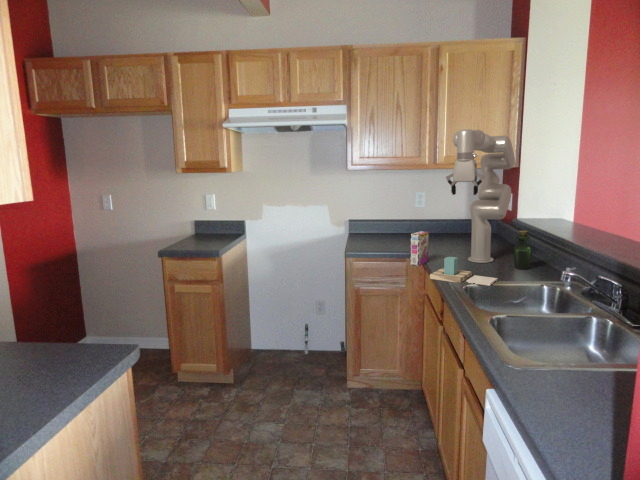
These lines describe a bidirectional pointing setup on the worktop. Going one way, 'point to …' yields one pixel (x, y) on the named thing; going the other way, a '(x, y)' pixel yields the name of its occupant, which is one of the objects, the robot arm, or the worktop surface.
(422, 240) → the candy bar box
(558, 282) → the worktop surface
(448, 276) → the pocket base
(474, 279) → the tile
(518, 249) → the potion bottle
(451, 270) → the teal block
